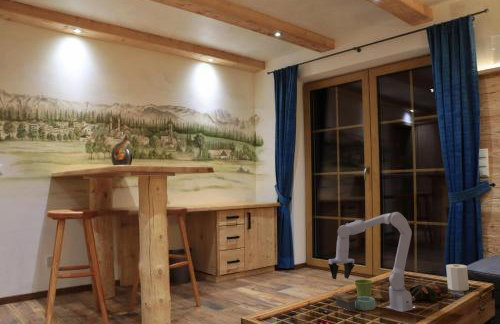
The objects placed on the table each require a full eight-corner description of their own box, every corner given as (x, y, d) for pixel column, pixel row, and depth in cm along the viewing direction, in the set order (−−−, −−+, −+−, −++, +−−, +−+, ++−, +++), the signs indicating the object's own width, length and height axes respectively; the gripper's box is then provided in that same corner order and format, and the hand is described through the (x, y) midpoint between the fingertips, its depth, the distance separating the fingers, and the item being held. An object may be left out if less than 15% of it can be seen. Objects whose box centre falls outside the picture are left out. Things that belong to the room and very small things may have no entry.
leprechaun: (394, 294, 206) (433, 282, 214) (404, 313, 201) (443, 300, 210) (405, 286, 197) (445, 275, 206) (415, 306, 192) (456, 293, 201)
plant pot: (352, 300, 207) (351, 282, 208) (357, 295, 216) (356, 278, 216) (371, 301, 203) (370, 283, 203) (375, 296, 211) (374, 279, 212)
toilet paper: (455, 291, 214) (453, 268, 215) (443, 287, 224) (441, 264, 225) (473, 290, 215) (471, 266, 216) (460, 285, 226) (459, 263, 227)
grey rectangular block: (355, 310, 189) (354, 300, 190) (350, 311, 188) (349, 301, 188) (341, 305, 198) (340, 296, 198) (336, 306, 197) (335, 297, 197)
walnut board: (357, 300, 190) (357, 297, 190) (348, 302, 187) (348, 298, 187) (341, 295, 199) (341, 292, 199) (332, 297, 197) (332, 294, 197)
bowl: (379, 308, 192) (378, 299, 192) (365, 311, 187) (364, 302, 188) (365, 303, 200) (364, 295, 200) (351, 307, 195) (350, 298, 196)
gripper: (348, 248, 205) (346, 275, 205) (325, 248, 199) (323, 277, 198) (358, 251, 199) (356, 279, 199) (334, 251, 192) (332, 280, 192)
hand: (340, 278), depth 198 cm, fingers open, 7 cm apart
